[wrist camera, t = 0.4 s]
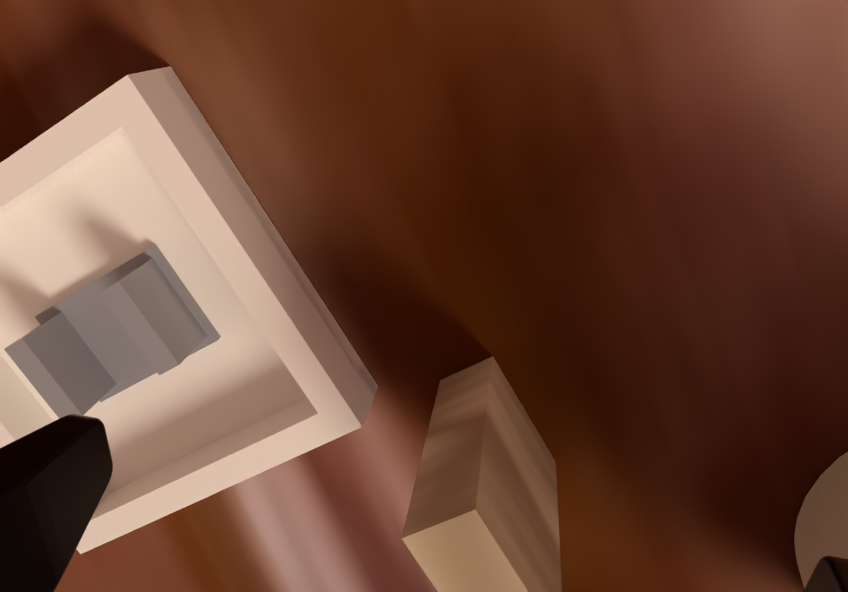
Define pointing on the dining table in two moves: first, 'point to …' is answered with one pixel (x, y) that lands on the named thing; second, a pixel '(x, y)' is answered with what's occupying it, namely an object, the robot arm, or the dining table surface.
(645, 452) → the dining table surface
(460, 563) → the tan cuboid brick
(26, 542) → the robot arm
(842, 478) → the reusable coffee cup
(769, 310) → the dining table surface
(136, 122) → the dish
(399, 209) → the dining table surface
